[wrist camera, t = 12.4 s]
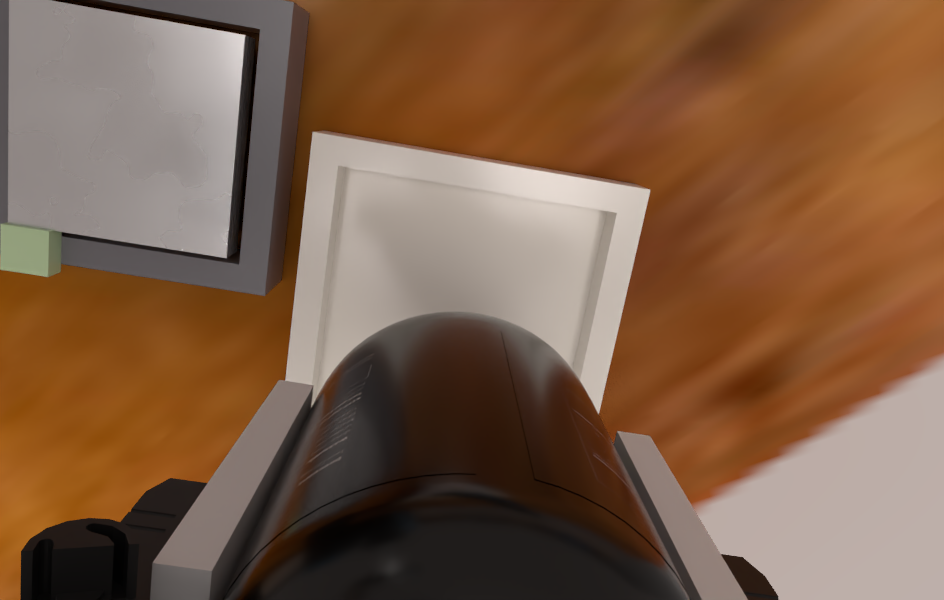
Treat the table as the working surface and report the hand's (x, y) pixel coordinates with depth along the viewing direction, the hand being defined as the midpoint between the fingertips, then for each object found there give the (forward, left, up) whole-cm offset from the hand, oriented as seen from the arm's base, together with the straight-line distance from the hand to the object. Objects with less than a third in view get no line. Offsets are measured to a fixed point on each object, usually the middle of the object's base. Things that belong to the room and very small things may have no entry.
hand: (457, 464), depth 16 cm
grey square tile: (-12, +5, -11) cm, 17 cm away
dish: (0, 0, -13) cm, 13 cm away
